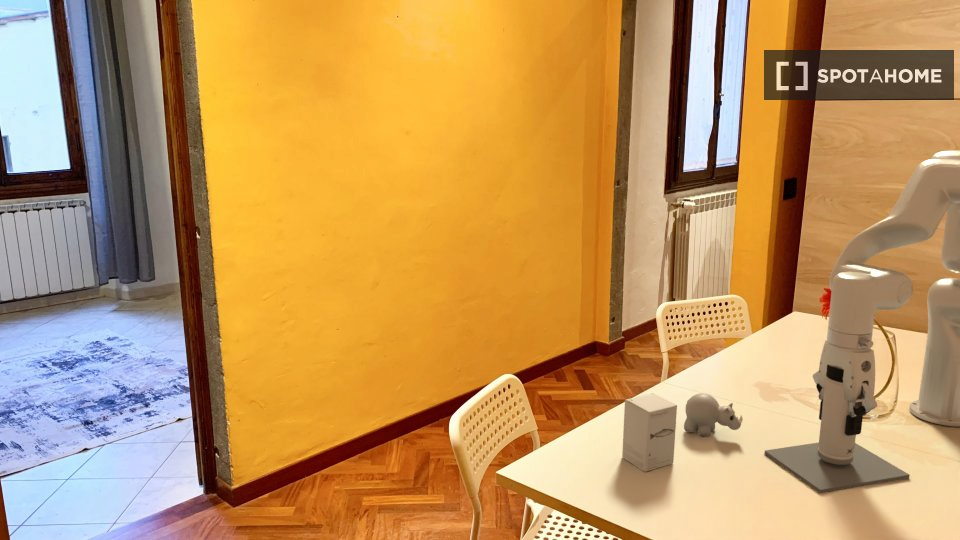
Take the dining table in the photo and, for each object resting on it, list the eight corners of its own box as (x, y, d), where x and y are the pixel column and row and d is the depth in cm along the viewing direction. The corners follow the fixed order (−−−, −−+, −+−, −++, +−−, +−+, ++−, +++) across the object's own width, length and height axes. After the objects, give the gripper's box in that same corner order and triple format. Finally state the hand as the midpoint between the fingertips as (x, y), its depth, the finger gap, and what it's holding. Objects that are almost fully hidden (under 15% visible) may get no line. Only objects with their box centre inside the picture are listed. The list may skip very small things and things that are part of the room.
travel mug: (859, 466, 140) (870, 367, 135) (821, 463, 141) (832, 365, 137) (849, 451, 146) (860, 356, 141) (814, 449, 147) (823, 354, 143)
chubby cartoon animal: (735, 448, 152) (738, 409, 150) (678, 433, 158) (681, 396, 157) (745, 435, 157) (748, 398, 155) (690, 421, 164) (693, 385, 162)
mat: (846, 441, 154) (847, 438, 154) (909, 478, 139) (909, 474, 139) (764, 454, 149) (764, 450, 149) (819, 493, 134) (820, 489, 134)
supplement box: (645, 473, 142) (648, 412, 139) (621, 457, 148) (623, 398, 145) (674, 464, 145) (678, 404, 142) (649, 449, 151) (652, 391, 148)
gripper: (902, 351, 131) (890, 443, 135) (832, 323, 147) (824, 406, 151) (867, 355, 129) (856, 449, 133) (800, 326, 145) (792, 411, 149)
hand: (839, 425), depth 142 cm, fingers closed on travel mug, 6 cm apart
